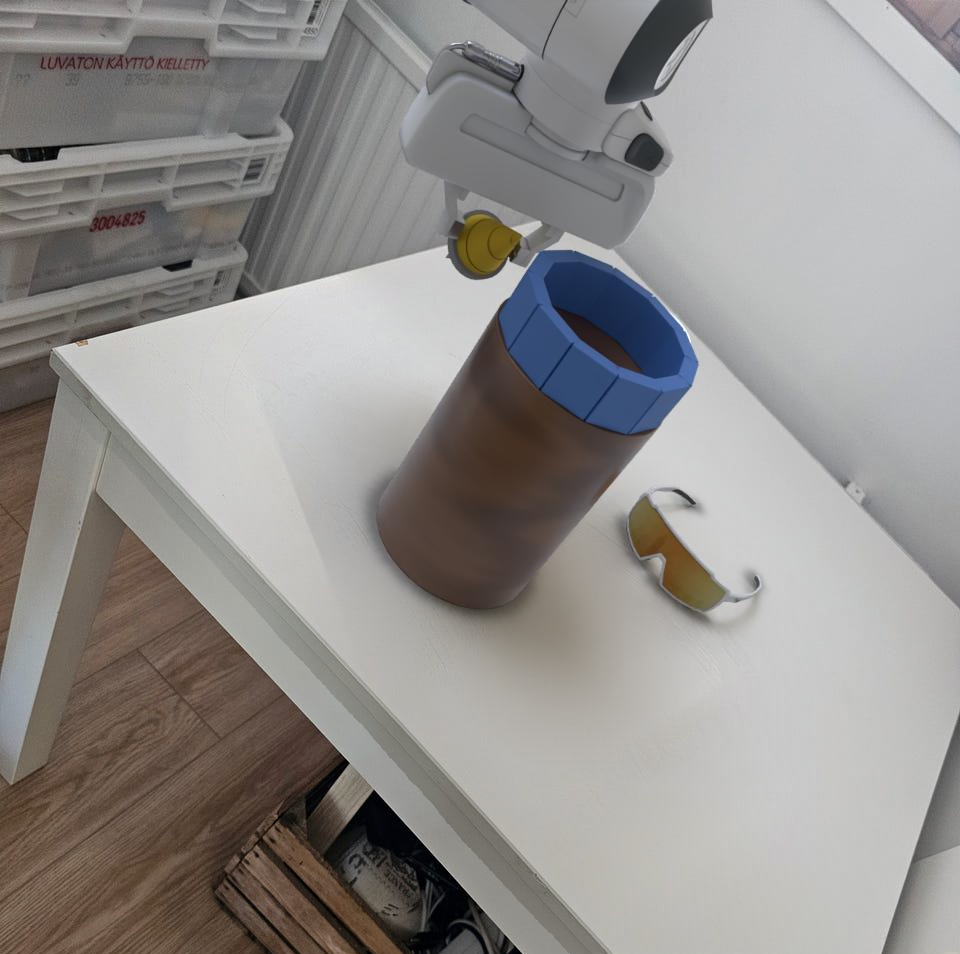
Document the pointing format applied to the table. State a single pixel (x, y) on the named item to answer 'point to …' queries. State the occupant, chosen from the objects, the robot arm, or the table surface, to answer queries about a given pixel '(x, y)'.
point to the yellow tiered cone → (482, 245)
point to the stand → (499, 476)
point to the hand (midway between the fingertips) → (481, 247)
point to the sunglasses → (676, 556)
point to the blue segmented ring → (579, 368)
